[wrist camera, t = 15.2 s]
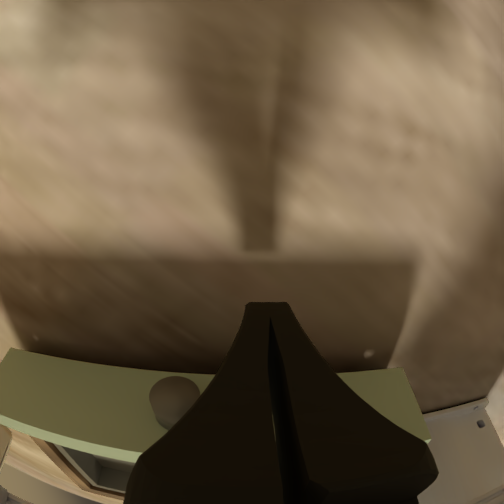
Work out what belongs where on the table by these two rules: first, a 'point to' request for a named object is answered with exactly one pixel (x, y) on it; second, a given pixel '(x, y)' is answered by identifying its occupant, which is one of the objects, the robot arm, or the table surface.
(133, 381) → the drawer
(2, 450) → the stereo radio cassette player
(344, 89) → the table surface
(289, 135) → the table surface
